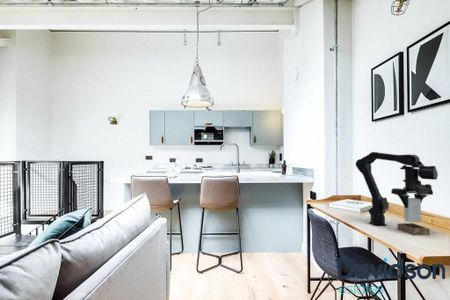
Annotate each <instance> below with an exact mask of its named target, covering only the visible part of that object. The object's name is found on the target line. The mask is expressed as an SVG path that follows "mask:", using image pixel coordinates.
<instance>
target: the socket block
mask: <svg viewBox="0 0 450 300" xmlns="http://www.w3.org/2000/svg"><path fill="white" fill-rule="evenodd" d="M397 230H399V231H400V232H401V231H402V232H404V233H407V234H409V235H412V236H424V235H425V236H428V235H430V228H428V227H427V226H426V227H425V226H423V225H420V224H416V223H414V222H408V223H407V222H405V223H404V222H403V223H401V222H400V223H397Z"/></svg>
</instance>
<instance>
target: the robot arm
mask: <svg viewBox="0 0 450 300" xmlns="http://www.w3.org/2000/svg"><path fill="white" fill-rule="evenodd" d="M376 160H382V161H392V162H396V163H400V164H401V165H402V164H403V165H402V166H401V167H400V168H399V170H404V179H403V180H402V181H403V182H404V186H403V188H399V187H398V188H395V187H394V188H391V193H390V194H392V195H395V196H398V197H399V199H400V201H401V202H402V204H403V207H404V206H405V208H408V198H410V195H408V194H413V196H414V198H417V199H420V200H421V203H422V202H423V200H424V199H425V198H427V197H428V196H429V195H430V196H433V194H434V192H433V188H432V187H433V186H432V185H431V184H429V183H427V184H422V181H421V180H419V178H420V179H422V180H433V181H435V180H438V175H439V173H438V170H437V167H436V165H430V166H429V165H428V166H427V165H424V164H423V162H422V161H421V160H420V157H419V156H418V155H417V154H393V153H386V152H385V153H384V152H377V151H371V152H370V153H369V154H366V155H365V156H363V157H362V158H360V159H357V160H356V162H355V167H356V168H357V170H358V172H360V173H361V174H362V177H363V179H364V181H365V183H366V186H367V189H368V191H369V193H370V196H371V205H372V207H371V208H369V209H368V213H369V215H370V221H369V222H368V223H369V224H371V225H373V226H377V227H379V226H383V227H385V226H387V224H386V216H385V214H386V212H387V211H388V210H389V207H390V206H389V205H390V204H389V202H388V198H387V197H383V196H382V194H381V192H380V190H379V188H378V185H377V183H376V181H375V178H374V176H373V174H372V164H373V163H374V162H375V161H376Z"/></svg>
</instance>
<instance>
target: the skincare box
mask: <svg viewBox="0 0 450 300" xmlns="http://www.w3.org/2000/svg"><path fill="white" fill-rule="evenodd" d="M421 204H422V202H421V200H420V199H417V198H415V197H409V198H408V208H405V206H404V205H403V211H404V212H403V213H404V217H403V218H404V219H403V220H404V221H405V222H406V223H407V222H408V223H422V207H421V206H422V205H421Z"/></svg>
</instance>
